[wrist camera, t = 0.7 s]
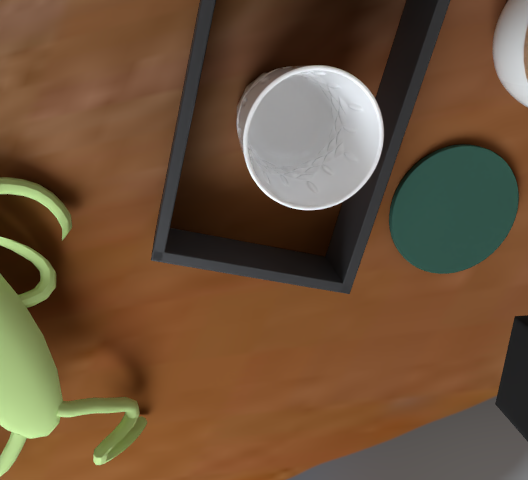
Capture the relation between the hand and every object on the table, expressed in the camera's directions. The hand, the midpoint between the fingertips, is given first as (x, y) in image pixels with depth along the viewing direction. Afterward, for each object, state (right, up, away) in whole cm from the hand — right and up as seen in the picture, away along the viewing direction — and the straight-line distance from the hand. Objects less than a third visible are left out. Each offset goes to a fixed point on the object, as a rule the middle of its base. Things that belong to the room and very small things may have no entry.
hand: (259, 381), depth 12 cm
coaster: (+16, +6, +29) cm, 34 cm away
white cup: (+1, +13, +24) cm, 28 cm away
